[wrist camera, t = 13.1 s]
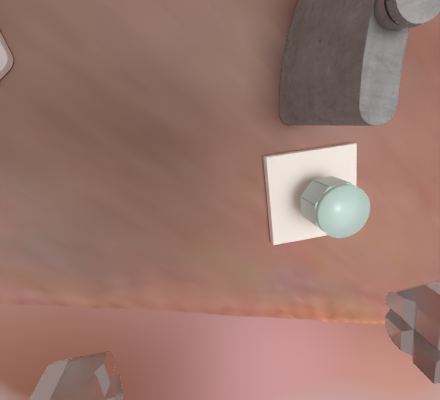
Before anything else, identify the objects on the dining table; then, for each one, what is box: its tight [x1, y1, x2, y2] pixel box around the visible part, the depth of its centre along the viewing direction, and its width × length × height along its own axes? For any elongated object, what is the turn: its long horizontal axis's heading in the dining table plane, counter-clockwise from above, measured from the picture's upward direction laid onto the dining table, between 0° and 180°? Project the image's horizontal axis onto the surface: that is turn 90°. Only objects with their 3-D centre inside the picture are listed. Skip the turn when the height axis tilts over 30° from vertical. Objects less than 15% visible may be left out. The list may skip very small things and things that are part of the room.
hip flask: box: [279, 0, 440, 126], centre depth 26 cm, size 16×4×20 cm, turn 173°
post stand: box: [263, 143, 356, 245], centre depth 37 cm, size 13×13×8 cm
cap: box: [300, 176, 370, 238], centre depth 34 cm, size 6×6×5 cm
